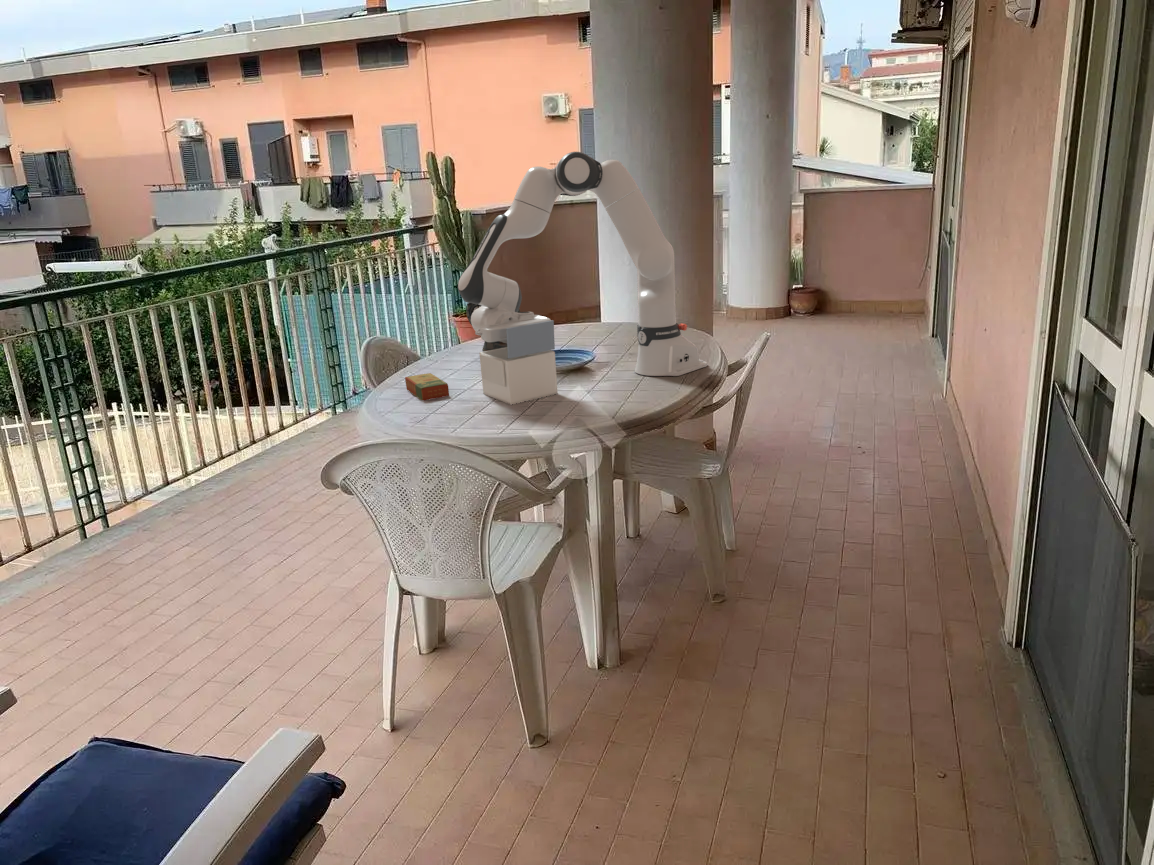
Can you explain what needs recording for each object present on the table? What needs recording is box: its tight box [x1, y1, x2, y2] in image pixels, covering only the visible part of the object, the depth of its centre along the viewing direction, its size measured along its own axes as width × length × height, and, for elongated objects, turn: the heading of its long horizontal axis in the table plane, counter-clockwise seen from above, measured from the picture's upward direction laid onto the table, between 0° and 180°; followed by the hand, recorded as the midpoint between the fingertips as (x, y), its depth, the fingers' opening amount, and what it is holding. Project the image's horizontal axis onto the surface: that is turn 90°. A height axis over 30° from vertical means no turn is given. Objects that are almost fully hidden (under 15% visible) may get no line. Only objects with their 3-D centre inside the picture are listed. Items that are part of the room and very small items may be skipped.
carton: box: [404, 372, 450, 401], centre depth 240 cm, size 8×16×4 cm, turn 27°
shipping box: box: [479, 347, 559, 406], centre depth 231 cm, size 16×17×12 cm
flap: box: [506, 319, 556, 358], centre depth 221 cm, size 14×8×1 cm
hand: (530, 333), depth 220 cm, fingers closed, pressing on flap
